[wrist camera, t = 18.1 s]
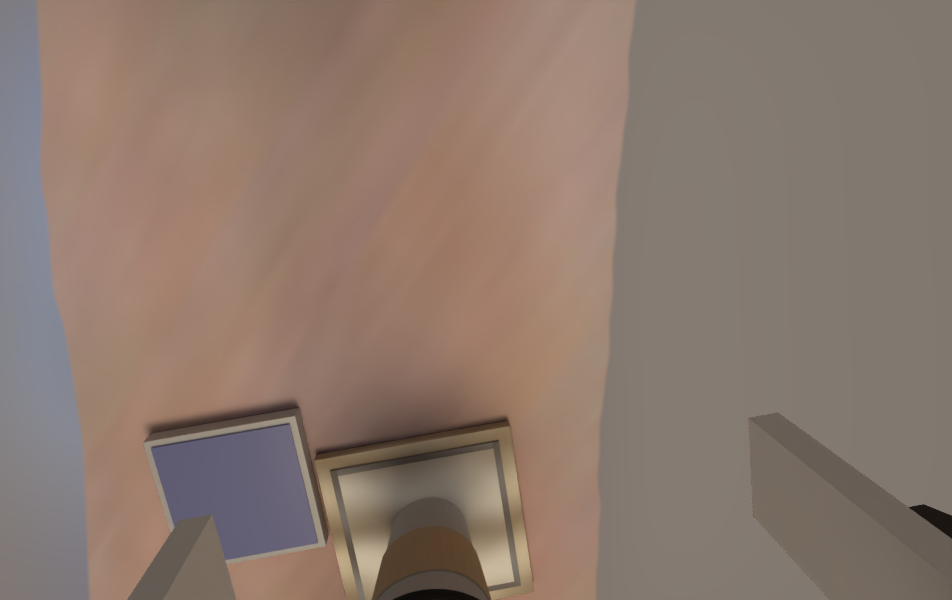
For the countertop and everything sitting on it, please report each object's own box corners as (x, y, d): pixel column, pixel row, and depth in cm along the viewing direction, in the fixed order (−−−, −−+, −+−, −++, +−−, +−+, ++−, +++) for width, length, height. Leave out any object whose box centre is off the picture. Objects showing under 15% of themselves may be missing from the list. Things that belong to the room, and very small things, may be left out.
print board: (316, 454, 48) (314, 461, 47) (507, 420, 49) (509, 427, 48) (354, 617, 52) (352, 628, 51) (532, 583, 53) (534, 593, 51)
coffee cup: (435, 602, 51) (440, 782, 36) (343, 537, 49) (311, 700, 34) (513, 521, 50) (552, 673, 35) (423, 451, 48) (424, 582, 33)
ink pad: (151, 433, 47) (141, 443, 45) (298, 407, 47) (294, 417, 46) (189, 560, 49) (181, 574, 48) (328, 534, 50) (325, 547, 48)
